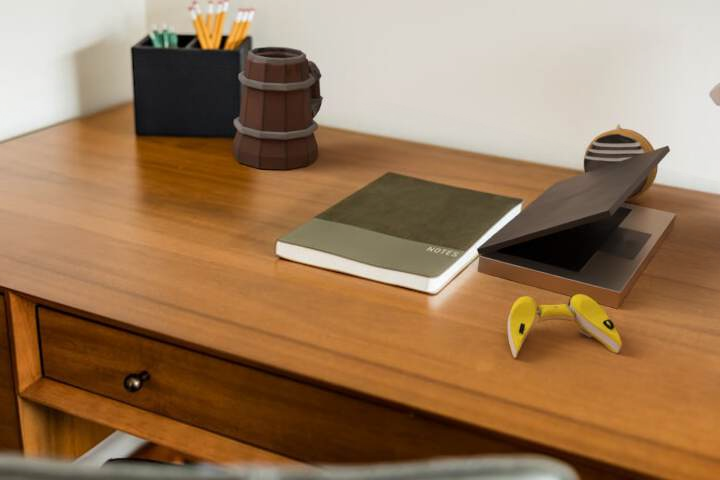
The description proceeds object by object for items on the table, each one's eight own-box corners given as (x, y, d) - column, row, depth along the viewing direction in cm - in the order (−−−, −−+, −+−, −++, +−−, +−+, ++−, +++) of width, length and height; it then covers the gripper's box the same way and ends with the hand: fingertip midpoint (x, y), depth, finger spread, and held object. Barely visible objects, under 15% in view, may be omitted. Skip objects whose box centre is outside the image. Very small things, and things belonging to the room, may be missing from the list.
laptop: (673, 227, 110) (676, 212, 109) (617, 308, 89) (620, 291, 88) (555, 201, 117) (557, 187, 116) (477, 271, 96) (479, 255, 95)
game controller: (591, 310, 86) (602, 286, 84) (614, 363, 82) (626, 339, 79) (492, 314, 85) (500, 290, 82) (509, 369, 80) (518, 345, 78)
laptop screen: (670, 151, 107) (668, 145, 107) (611, 217, 86) (608, 209, 86) (557, 188, 116) (555, 182, 116) (479, 255, 95) (476, 249, 95)
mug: (282, 176, 121) (284, 65, 115) (216, 157, 127) (214, 51, 121) (349, 150, 133) (354, 48, 127) (286, 134, 139) (287, 36, 133)
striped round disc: (575, 193, 120) (586, 120, 116) (588, 186, 123) (599, 115, 119) (642, 211, 115) (656, 136, 111) (654, 204, 117) (668, 130, 113)
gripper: (835, -27, 91) (714, 56, 99) (817, -7, 74) (675, 91, 83) (872, 23, 91) (749, 102, 99) (863, 55, 74) (715, 146, 82)
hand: (714, 97), depth 91 cm, fingers closed
